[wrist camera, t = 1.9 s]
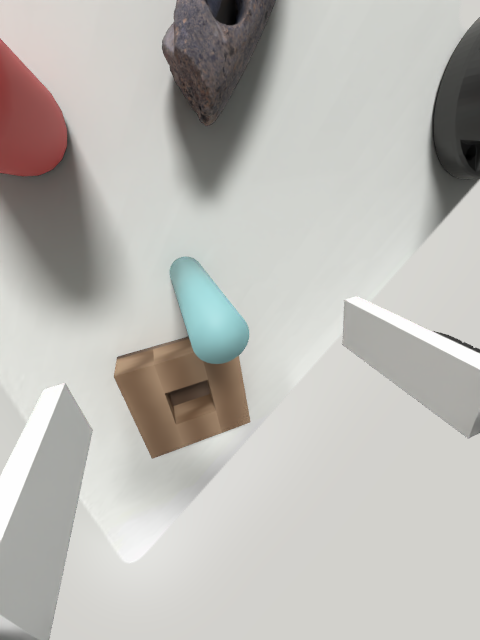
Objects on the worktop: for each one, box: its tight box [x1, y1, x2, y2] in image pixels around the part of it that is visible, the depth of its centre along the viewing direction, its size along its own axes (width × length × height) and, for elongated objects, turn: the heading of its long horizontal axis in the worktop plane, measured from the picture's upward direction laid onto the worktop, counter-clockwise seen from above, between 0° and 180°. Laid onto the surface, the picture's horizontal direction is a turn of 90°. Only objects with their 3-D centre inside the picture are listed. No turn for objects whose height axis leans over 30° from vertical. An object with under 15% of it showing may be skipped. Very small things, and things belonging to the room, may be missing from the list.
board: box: [114, 337, 250, 459], centre depth 30 cm, size 12×12×4 cm
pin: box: [170, 257, 249, 364], centre depth 20 cm, size 3×3×14 cm
